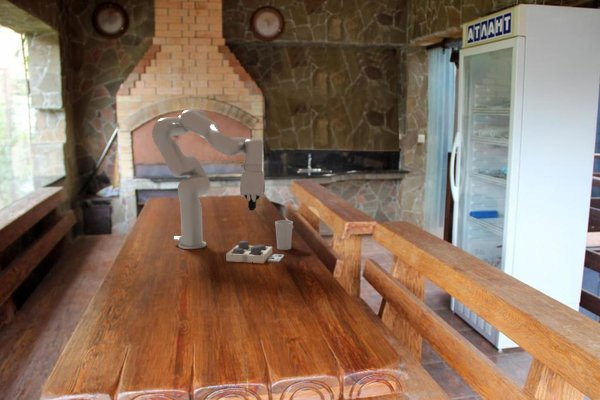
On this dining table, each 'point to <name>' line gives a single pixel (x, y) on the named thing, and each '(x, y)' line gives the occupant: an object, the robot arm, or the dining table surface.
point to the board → (249, 255)
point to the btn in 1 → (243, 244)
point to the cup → (284, 234)
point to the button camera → (255, 250)
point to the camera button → (238, 251)
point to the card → (275, 258)
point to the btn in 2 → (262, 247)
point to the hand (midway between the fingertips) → (252, 209)
